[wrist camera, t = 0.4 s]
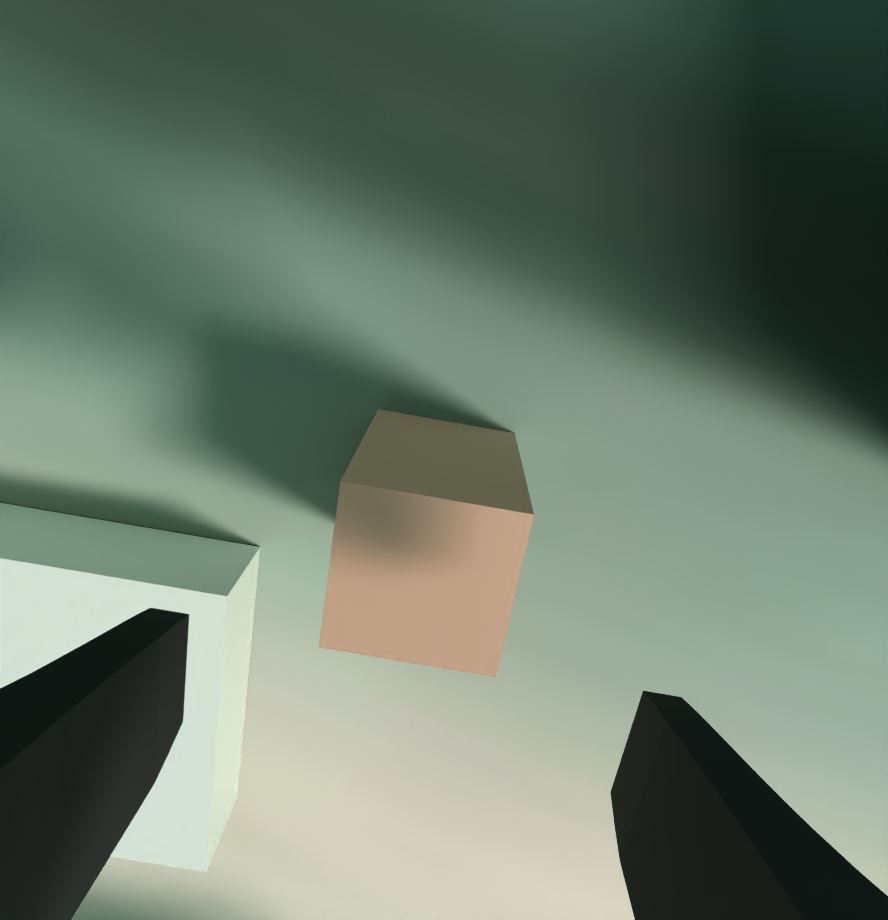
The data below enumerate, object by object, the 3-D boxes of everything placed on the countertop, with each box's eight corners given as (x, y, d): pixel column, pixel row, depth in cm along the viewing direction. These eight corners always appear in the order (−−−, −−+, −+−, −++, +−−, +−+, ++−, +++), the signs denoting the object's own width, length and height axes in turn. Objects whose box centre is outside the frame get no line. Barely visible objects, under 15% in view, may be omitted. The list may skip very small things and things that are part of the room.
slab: (237, 796, 24) (206, 871, 21) (-42, 750, 24) (-113, 821, 21) (260, 547, 21) (227, 596, 18) (-63, 492, 20) (-149, 532, 18)
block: (488, 555, 21) (495, 677, 15) (360, 533, 20) (318, 647, 15) (514, 432, 19) (534, 514, 14) (378, 409, 19) (340, 481, 14)
